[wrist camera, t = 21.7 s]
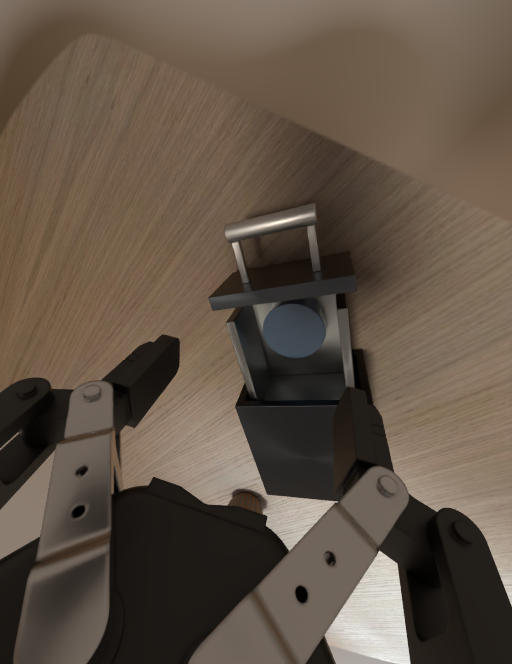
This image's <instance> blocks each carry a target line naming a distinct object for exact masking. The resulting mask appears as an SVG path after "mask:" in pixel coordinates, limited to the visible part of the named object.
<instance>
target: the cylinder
mask: <svg viewBox="0 0 512 664" xmlns="http://www.w3.org/2000/svg"><path fill="white" fill-rule="evenodd" d="M263 335H264V338H265V340H266V342H267V344H268V345H269V346H270V347H271V349H273V350H274V351H275V352H277V353H278V354H280V355H283V356H285V357H290V358H302V357H306V356H309V355H311V354H313V353H315V352H316V351H317V350H318V349H319V348H320V347H321V346H322V344H323V342H324V339H325V335H326V317H325V313H324V311H323V309H322V308H321V306H320V305H319V304H318V303H317V302H316V301H315V300H313V299H312V298H303V299H295V300H288V301H281V302H274V303H273V304H272V305H271V307H270V309H269V311H268V313H267V315H266V317H265V320H264V323H263Z"/></svg>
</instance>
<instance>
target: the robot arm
mask: <svg viewBox="0 0 512 664" xmlns="http://www.w3.org/2000/svg"><path fill="white" fill-rule="evenodd" d="M179 357H180V341H179V339H178V338H175V337H171V336H168V335H164V334H163V335H161V336H160V337H159V338H158V339H157V340H156V341H155V342H154V343H153V342H150V341H149V342H147V343H145V344H143V345H140V346H139V347H138V348H136V349H135V350H134V351H133V352H132V354H130V355H129V356H128V357H126V359H125V360H123V361H122V362H121V363H120V364H119V365H118V366H117V367H115V368H114V369H113V370H112V371H111V372H110V373H109V374H108V375H107V376H105V377H104V378H103V379H102V380H101V381H99V380H96V381H90V382H86V383H84V384H82V385H80V386H78V387H77V388H76V389H75V390H68V389H52V388H51V385H50V383H49V381H48V380H46V379H43V378H28V379H24V380H20V381H18V382H16V383H14V384H12V385H10V386H9V387H7V388H6V389H5V390H3V391H2V392H0V448H1V447H2V446H3V445H4V444H5V443H6V442H7V441H8V440H10V439H11V438H12V437H13V436H14V435H15V434H16V433H17V432H19V434H18V435H17V436H16V437H15V438H14V439H13V440H11V441H10V442H9V443H8V444H7V445H6V446H5V447H4V448H3V449H2V450H0V509H1V508H2V507H3V506H4V505H5V504H6V503H7V502H8V501H9V499H10V498H11V497H12V496H13V495H14V494H15V493H16V492H17V491H18V490H19V489H20V488H21V486H22V485H23V484H24V483H25V482H26V481H27V480H28V479H29V478H30V476H32V474H33V473H34V472H35V471H36V470H37V469H38V468H39V467H40V466H41V465H42V463H43V462H44V461H45V460H46V459H47V458H48V457H49V456H50V455H51V454H52V453H53V451H54V450H55V449H56V450H55V456H54V462H53V467H52V473H51V478H50V484H49V490H48V496H47V502H46V507H45V512H44V518H43V524H42V530H41V535H40V537H38V538H37V539H35V540H33V541H31V542H30V543H28V544H26V545H25V546H23V547H21V548H19V549H18V550H16V551H14V552H12V553H11V554H9V555H8V556H6V557H4V558H2V559H1V560H0V664H336V663H335V660H334V658H333V655H332V653H331V650H330V648H329V646H328V643H327V641H326V638H325V636H324V635H325V633H326V632H327V630H328V629H329V627H330V626H331V624H332V623H333V621H334V620H335V618H336V616H337V615H338V613H339V612H340V610H341V609H342V607H343V606H344V604H345V603H346V601H347V600H348V598H349V597H350V595H351V594H352V592H353V591H354V589H355V588H356V586H357V585H358V583H359V582H360V580H361V579H362V577H363V575H364V574H365V572H366V571H367V569H368V568H369V566H370V565H371V563H372V562H373V560H374V559H375V557H376V556H377V554H378V552H379V550H380V551H381V552H382V553H384V554H385V555H387V556H388V557H389V558H391V559H392V560H393V561H395V562H396V563H398V570H399V578H400V586H401V593H402V601H403V609H404V616H405V624H406V632H407V639H408V647H409V655H410V662H411V664H512V606H511V604H510V601H509V598H508V596H507V593H506V591H505V588H504V585H503V583H502V580H501V578H500V575H499V572H498V570H497V567H496V565H495V562H494V559H493V557H492V554H491V552H490V549H489V546H488V544H487V541H486V539H485V537H484V536H483V534H482V532H481V531H480V529H479V528H478V527H477V526H476V525H475V524H474V523H473V522H472V521H471V520H470V519H469V518H468V517H467V516H465V515H464V514H463V513H461V512H459V511H457V510H455V509H452V508H442V509H440V510H439V511H438V512H436V511H434V510H433V509H431V508H430V507H428V506H426V505H425V504H423V503H421V502H420V501H418V500H417V499H415V498H414V497H412V496H411V495H410V494H409V493H408V490H407V488H406V486H405V484H404V483H403V481H402V480H401V479H400V478H399V477H398V476H397V475H396V474H395V473H394V470H393V465H392V461H391V456H390V452H389V447H388V443H387V438H386V434H385V429H384V425H383V420H382V416H381V415H380V413H379V412H378V410H377V409H376V407H375V406H373V405H370V404H368V403H367V397H366V392H365V391H363V390H360V389H356V388H353V387H349V386H347V387H346V388H345V390H344V392H343V395H342V397H341V399H340V401H339V403H338V405H337V407H336V410H335V412H334V417H333V462H334V494H336V495H340V496H343V498H342V499H341V500H340V501H339V502H338V503H335V504H334V505H333V506H332V507H331V508H330V509H329V510H328V511H327V512H326V513H325V514H324V515H323V516H322V517H321V518H320V519H319V520H318V522H317V523H316V524H315V525H314V526H313V527H312V528H311V529H310V530H309V531H308V532H307V533H306V534H305V535H304V536H303V538H302V539H301V540H300V541H299V542H298V543H297V544H296V545H295V546H294V547H293V548H292V549H291V550H290V551H288V549H287V547H286V546H285V545H284V543H283V542H282V540H281V539H280V538H279V537H278V536H277V535H276V534H275V533H274V532H273V531H272V530H271V529H269V528H268V527H267V526H266V521H267V516H265V515H263V514H260V513H257V512H254V511H251V510H248V509H245V508H242V507H239V506H224V505H207V504H205V503H203V502H202V501H200V500H199V499H197V498H196V497H195V496H193V495H192V494H191V493H189V492H188V491H186V490H185V489H184V488H182V487H181V486H178V485H175V484H172V483H170V482H167V481H164V480H161V479H158V478H155V477H153V479H152V481H151V482H150V484H149V486H136V487H132V488H128V489H125V490H124V487H123V477H122V452H121V430H122V429H123V428H124V427H125V425H127V426H130V427H133V428H135V427H136V426H137V425H138V423H139V422H140V421H141V420H142V418H143V417H144V416H145V414H146V413H147V412H148V410H149V409H150V408H151V406H152V405H153V404H154V403H155V401H156V400H157V399H158V397H159V396H160V395H161V393H162V392H163V391H164V389H165V388H166V387H167V386H168V384H169V383H170V382H171V380H172V379H173V378H174V376H175V375H176V373H177V371H178V368H179Z"/></svg>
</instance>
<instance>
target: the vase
mask: <svg viewBox="0 0 512 664" xmlns="http://www.w3.org/2000/svg"><path fill="white" fill-rule="evenodd" d="M228 506H239V507H242V508H245V509H248V510H251V511H254V512H257V513H260V514H263V511H262V507H261V504H260V502H259V500H258V499H257V498H256V497H255V496H254V495H252V494H249V493H240V494H238V495H236V496H235V497H233V498H232V499H231V501H230V502H229V504H228Z"/></svg>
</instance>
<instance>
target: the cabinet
mask: <svg viewBox="0 0 512 664" xmlns="http://www.w3.org/2000/svg"><path fill="white" fill-rule="evenodd" d="M352 360H353V371H354V382H355V388H356V389H360V390H363V391H365V392H366V397H367V403H368V404H370V405H373V400H372V395H371V390H370V385H369V380H368V375H367V370H366V365H365V360H364V355H363V350H362V349H359V350H352ZM339 401H340V399H331V400H273V401H251V399H250V396H249V393H248V390H247V387H246V384H245V383H244V386H243V388H242V391H241V393H240V396H239V398H238V401H237V403H236V406H235V408H236V410H237V413H238V416H239V419H240V421H241V424H242V427H243V430H244V432H245V435H246V438H247V441H248V443H249V446H250V449H251V452H252V454H253V457H254V460H255V462H256V465H257V468H258V471H259V473H260V476H261V479H262V482H263V484H264V487H265V490H266V493H267V495H277V496H287V497H298V498H308V499H318V500H328V501H338V502H339V501H340V500H341V499H342V498H343V496H340V495H336V494H334V462H333V417H334V412H335V410H336V407H337V405H338V403H339Z"/></svg>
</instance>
